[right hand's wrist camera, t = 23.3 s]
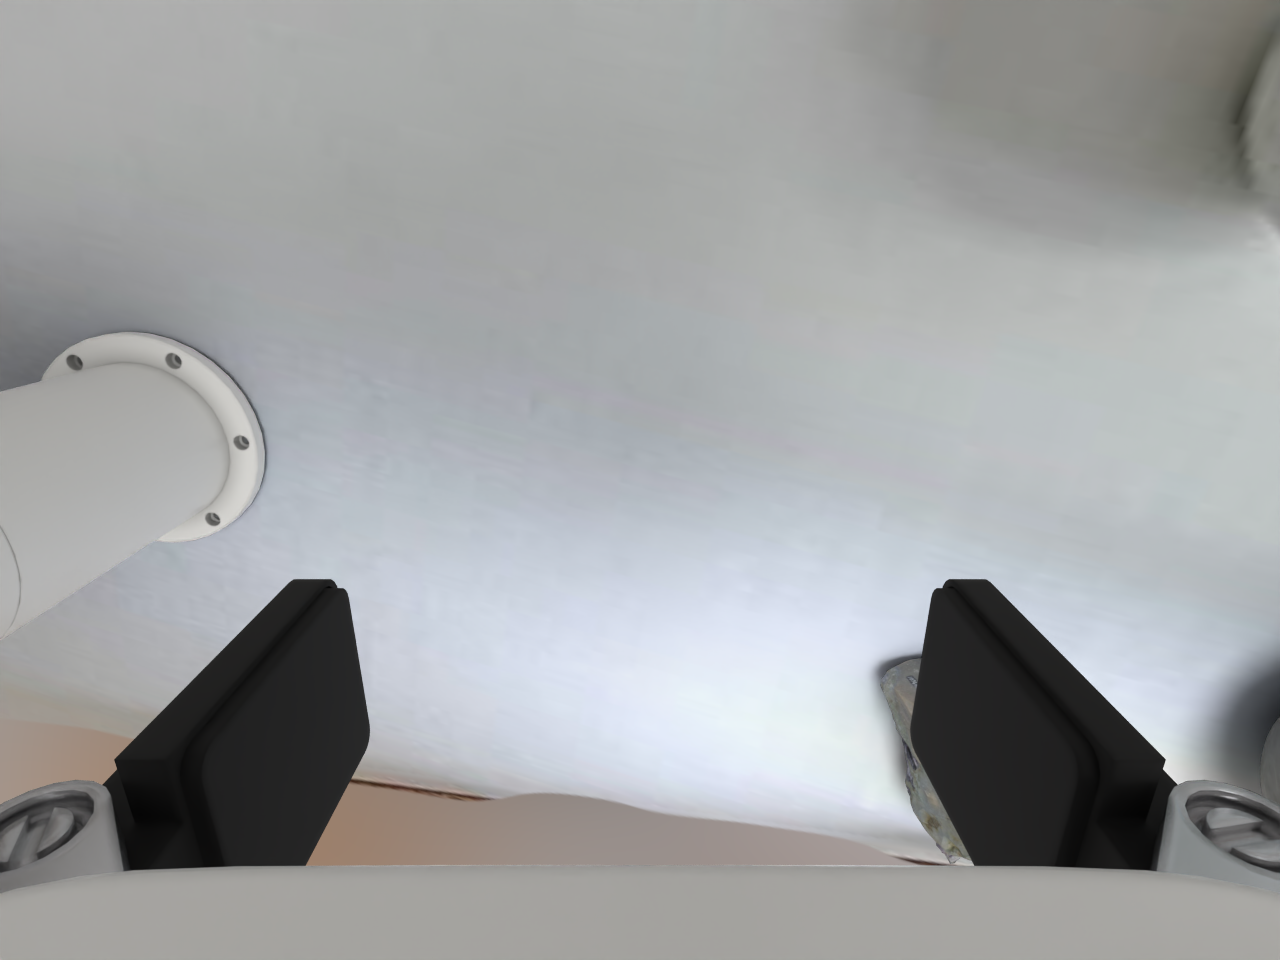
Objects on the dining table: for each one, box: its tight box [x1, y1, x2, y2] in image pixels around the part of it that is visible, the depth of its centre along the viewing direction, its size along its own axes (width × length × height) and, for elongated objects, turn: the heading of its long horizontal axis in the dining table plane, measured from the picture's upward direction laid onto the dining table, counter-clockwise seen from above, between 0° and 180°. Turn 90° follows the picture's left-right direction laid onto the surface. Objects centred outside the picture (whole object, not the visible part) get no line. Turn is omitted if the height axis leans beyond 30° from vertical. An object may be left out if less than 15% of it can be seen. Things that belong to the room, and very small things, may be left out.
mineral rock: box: [881, 658, 972, 864], centre depth 43 cm, size 13×11×10 cm
